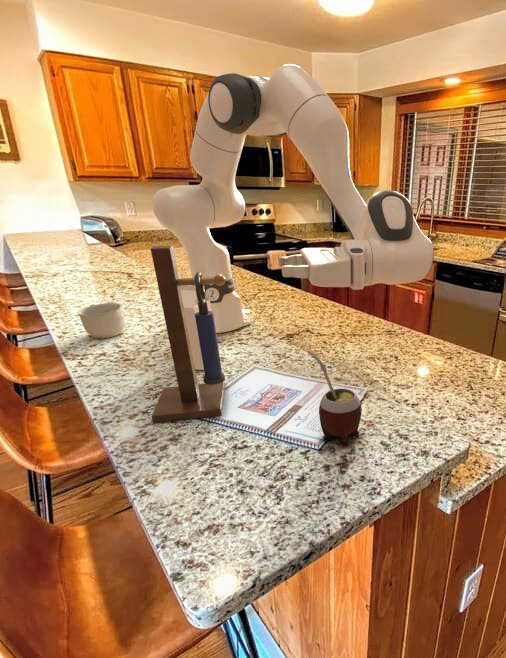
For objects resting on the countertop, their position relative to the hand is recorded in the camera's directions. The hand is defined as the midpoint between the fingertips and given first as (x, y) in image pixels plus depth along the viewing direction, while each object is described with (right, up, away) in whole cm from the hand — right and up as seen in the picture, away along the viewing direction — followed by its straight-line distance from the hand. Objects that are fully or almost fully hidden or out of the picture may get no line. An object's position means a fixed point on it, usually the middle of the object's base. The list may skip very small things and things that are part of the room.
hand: (280, 266), depth 80 cm
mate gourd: (+11, -31, -7) cm, 34 cm away
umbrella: (-13, -21, +3) cm, 25 cm away
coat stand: (-16, -26, +4) cm, 31 cm away
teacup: (-58, -9, +44) cm, 73 cm away
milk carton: (-24, -18, +23) cm, 37 cm away
